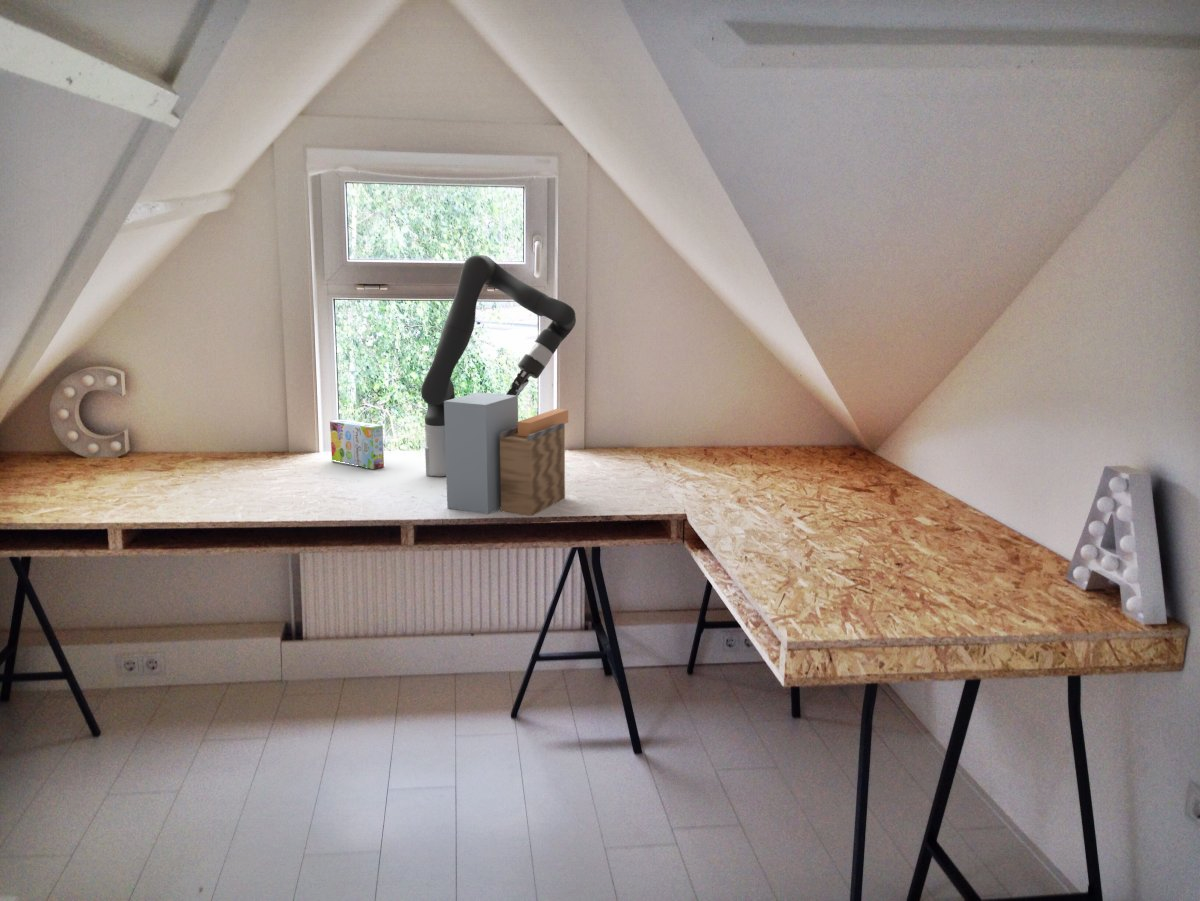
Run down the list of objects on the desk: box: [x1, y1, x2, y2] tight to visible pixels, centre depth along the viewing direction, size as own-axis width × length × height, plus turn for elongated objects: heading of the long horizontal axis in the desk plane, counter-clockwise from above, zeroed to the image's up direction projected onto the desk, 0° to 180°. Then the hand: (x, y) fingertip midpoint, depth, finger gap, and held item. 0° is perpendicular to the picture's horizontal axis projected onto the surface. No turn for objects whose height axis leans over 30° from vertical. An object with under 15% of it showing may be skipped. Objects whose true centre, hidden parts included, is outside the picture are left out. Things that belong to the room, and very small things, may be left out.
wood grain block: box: [500, 423, 566, 517], centre depth 279 cm, size 21×10×24 cm, turn 155°
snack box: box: [329, 419, 385, 470], centre depth 329 cm, size 21×6×15 cm, turn 58°
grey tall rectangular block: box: [444, 391, 519, 515], centre depth 279 cm, size 18×14×32 cm
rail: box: [518, 408, 569, 436], centre depth 282 cm, size 24×4×4 cm, turn 154°
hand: (506, 402), depth 294 cm, fingers open, 8 cm apart
